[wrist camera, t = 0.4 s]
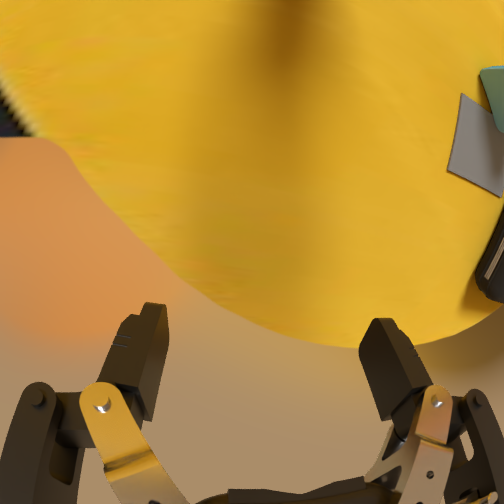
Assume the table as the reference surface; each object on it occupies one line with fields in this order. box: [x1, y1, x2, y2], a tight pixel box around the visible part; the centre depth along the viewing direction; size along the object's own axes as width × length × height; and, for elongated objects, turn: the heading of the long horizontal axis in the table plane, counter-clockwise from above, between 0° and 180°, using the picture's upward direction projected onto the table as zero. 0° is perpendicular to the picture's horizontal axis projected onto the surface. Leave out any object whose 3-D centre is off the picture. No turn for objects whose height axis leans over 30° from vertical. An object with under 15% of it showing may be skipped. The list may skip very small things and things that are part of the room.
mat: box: [447, 93, 504, 197], centre depth 32 cm, size 14×18×1 cm
